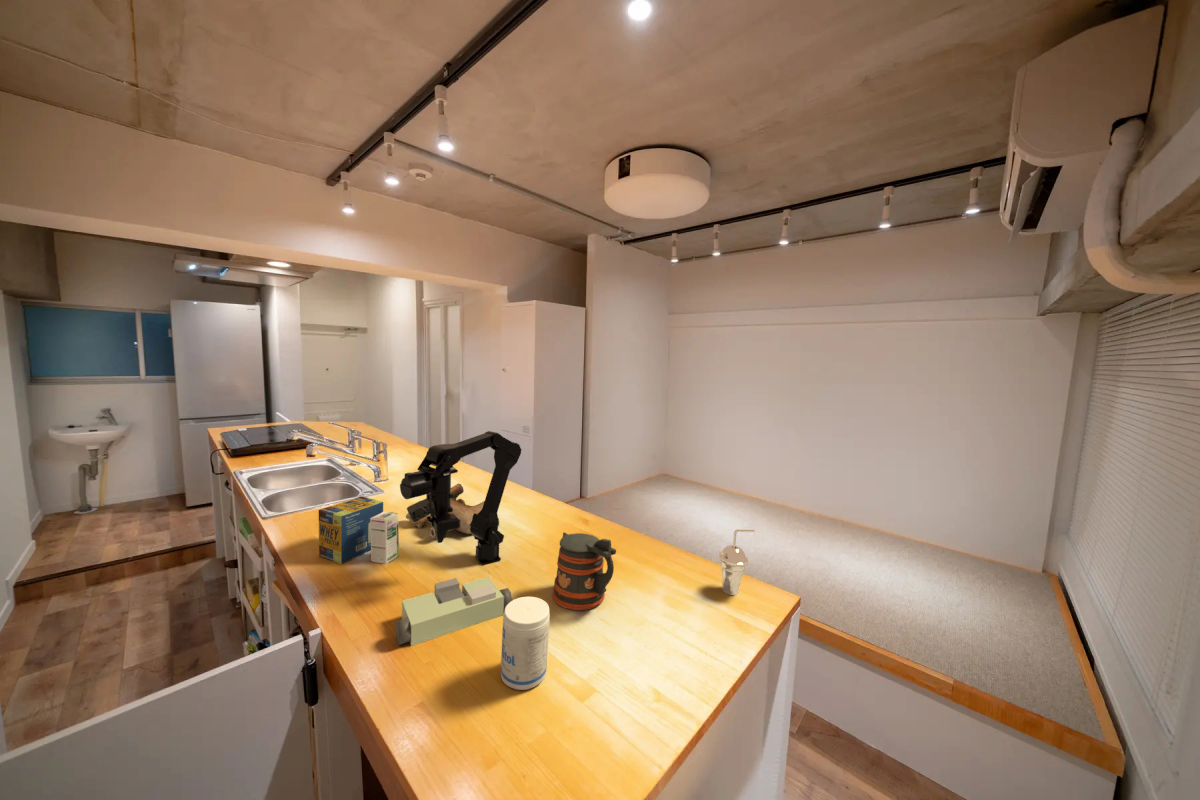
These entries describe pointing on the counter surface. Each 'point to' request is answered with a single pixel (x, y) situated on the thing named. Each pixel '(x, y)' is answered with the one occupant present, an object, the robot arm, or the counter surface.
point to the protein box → (347, 528)
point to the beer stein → (582, 571)
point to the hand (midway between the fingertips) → (439, 542)
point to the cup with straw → (733, 566)
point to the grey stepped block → (448, 591)
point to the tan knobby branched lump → (455, 512)
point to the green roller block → (450, 612)
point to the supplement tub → (525, 642)
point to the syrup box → (384, 537)
